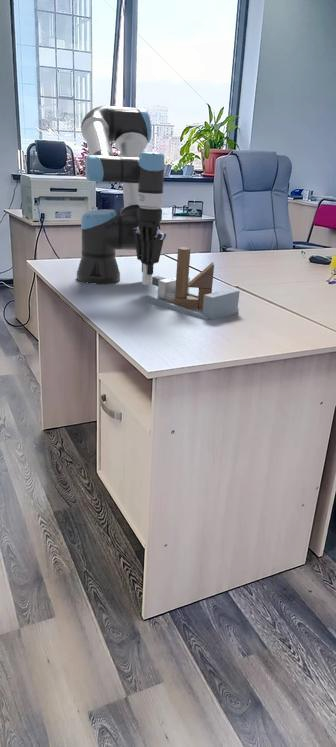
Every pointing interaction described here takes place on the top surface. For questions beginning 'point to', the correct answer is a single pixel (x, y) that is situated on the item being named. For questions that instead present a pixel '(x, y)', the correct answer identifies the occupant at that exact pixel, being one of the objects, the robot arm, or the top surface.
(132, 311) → the top surface
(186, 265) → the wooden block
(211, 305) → the vise base
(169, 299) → the sliding jaw
